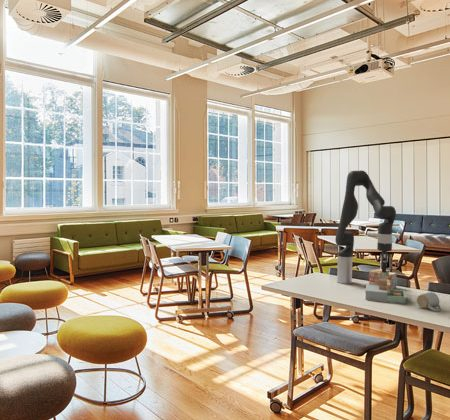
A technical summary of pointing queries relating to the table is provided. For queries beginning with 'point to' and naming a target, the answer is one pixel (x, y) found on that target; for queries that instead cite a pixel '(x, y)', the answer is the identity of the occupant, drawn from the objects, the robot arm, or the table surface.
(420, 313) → the table surface
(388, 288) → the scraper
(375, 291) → the grey flat block
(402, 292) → the tray
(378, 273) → the stack of blocks
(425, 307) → the ceramic mug
